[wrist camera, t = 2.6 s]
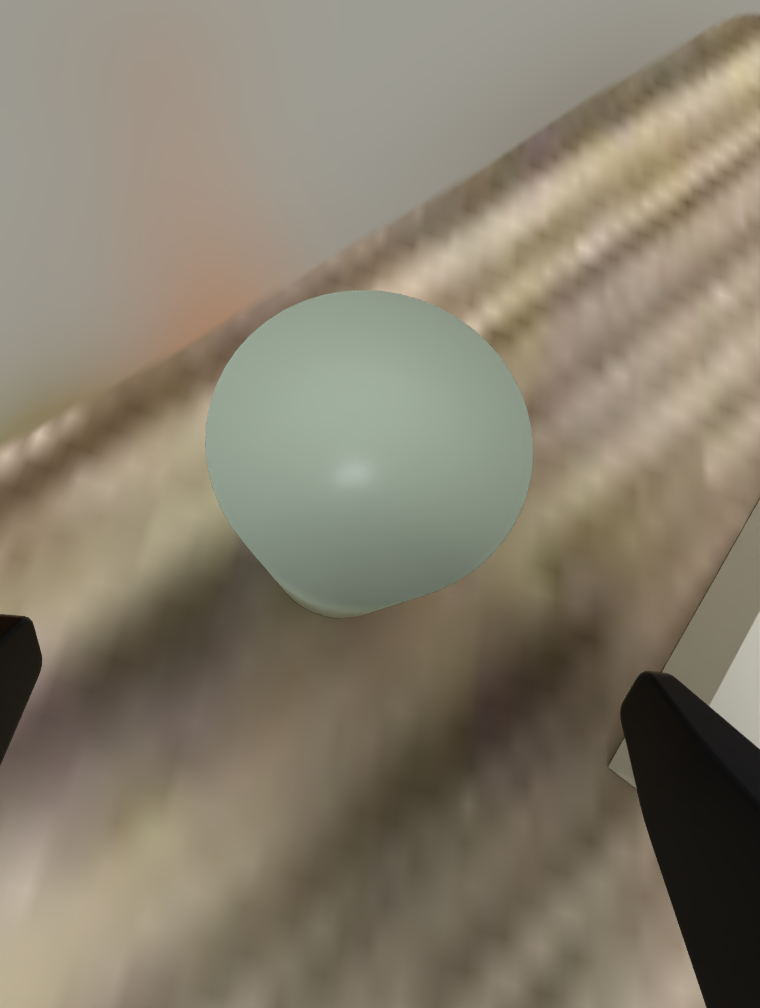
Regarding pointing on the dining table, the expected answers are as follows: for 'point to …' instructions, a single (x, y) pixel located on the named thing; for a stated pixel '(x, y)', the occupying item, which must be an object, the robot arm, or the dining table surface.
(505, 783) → the dining table surface
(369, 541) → the ball
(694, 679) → the stand
